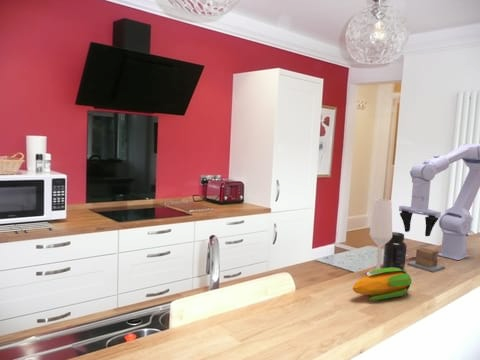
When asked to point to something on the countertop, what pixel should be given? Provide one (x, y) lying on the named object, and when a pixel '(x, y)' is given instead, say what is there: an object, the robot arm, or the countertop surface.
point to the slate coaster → (431, 269)
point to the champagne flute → (381, 226)
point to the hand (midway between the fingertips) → (417, 233)
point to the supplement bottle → (395, 252)
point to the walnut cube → (426, 257)
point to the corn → (384, 283)
